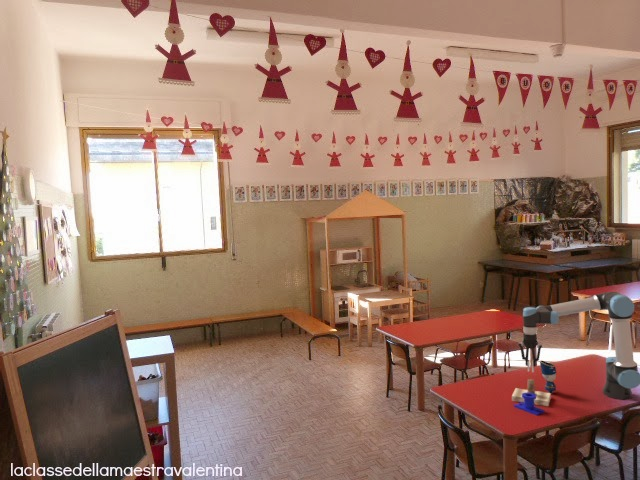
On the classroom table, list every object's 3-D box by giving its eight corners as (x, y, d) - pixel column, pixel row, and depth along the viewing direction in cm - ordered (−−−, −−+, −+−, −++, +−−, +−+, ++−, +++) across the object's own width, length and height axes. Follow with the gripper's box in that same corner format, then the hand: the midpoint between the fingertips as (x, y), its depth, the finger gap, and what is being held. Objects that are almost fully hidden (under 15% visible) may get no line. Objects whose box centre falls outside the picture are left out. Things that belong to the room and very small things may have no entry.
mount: (513, 407, 280) (513, 392, 280) (522, 404, 284) (521, 389, 283) (536, 415, 267) (536, 400, 267) (545, 412, 271) (544, 397, 270)
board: (550, 398, 290) (550, 393, 290) (548, 406, 278) (548, 401, 278) (515, 392, 301) (515, 388, 300) (511, 400, 289) (511, 395, 289)
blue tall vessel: (559, 396, 291) (559, 364, 290) (543, 396, 293) (542, 364, 292) (553, 389, 304) (553, 358, 303) (537, 388, 306) (537, 358, 305)
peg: (535, 398, 290) (535, 379, 289) (534, 401, 287) (534, 381, 286) (528, 397, 292) (527, 378, 292) (527, 400, 289) (526, 380, 288)
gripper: (544, 332, 286) (544, 371, 288) (518, 330, 294) (518, 367, 296) (542, 335, 280) (543, 375, 281) (516, 333, 288) (516, 371, 289)
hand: (530, 371), depth 288 cm, fingers open, 2 cm apart
